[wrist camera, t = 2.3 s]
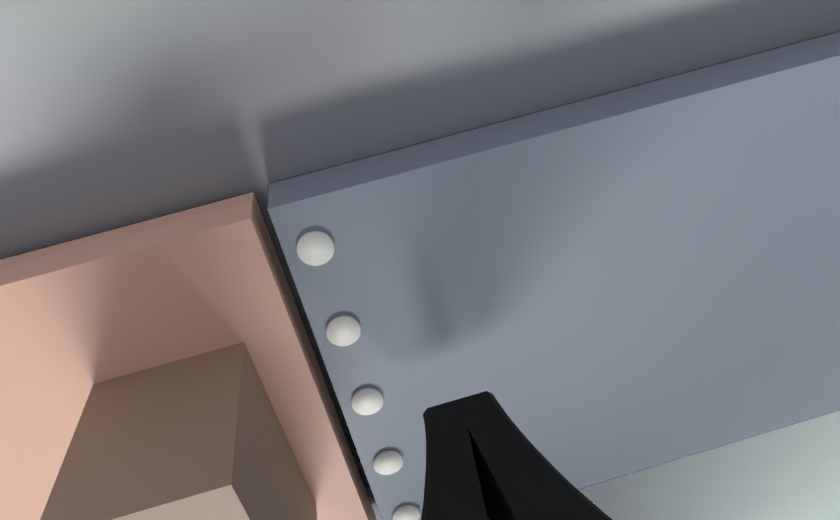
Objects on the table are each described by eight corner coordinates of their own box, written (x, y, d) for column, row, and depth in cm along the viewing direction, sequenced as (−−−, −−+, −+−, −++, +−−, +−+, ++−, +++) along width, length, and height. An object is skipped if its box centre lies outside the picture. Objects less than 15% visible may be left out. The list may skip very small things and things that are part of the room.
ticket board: (854, 368, 19) (891, 398, 17) (385, 507, 18) (392, 548, 17) (923, 9, 13) (981, 19, 12) (268, 184, 13) (267, 211, 12)
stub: (375, 516, 18) (404, 705, 14) (86, 603, 17) (23, 825, 13) (253, 191, 12) (238, 336, 8) (-164, 303, 12) (-396, 513, 8)
